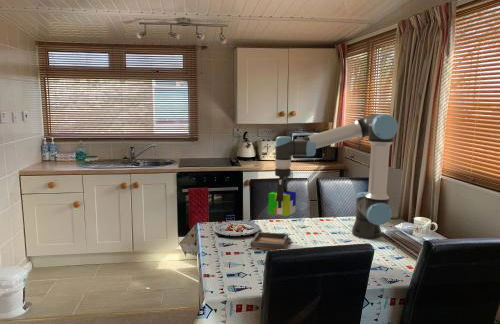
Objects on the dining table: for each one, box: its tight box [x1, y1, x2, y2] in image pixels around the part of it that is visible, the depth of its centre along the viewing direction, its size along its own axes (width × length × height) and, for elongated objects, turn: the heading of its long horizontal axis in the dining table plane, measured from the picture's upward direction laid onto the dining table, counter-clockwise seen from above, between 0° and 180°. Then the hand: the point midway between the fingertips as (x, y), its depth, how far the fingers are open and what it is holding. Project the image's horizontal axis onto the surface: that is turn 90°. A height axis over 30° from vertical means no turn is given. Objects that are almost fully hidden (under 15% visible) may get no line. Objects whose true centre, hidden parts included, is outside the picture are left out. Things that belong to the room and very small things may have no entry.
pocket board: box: [247, 231, 291, 251], centre depth 194 cm, size 18×18×3 cm
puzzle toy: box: [268, 190, 297, 217], centre depth 191 cm, size 10×10×10 cm
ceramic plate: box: [213, 220, 261, 237], centre depth 215 cm, size 26×26×3 cm
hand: (281, 211), depth 192 cm, fingers closed on puzzle toy, 11 cm apart
